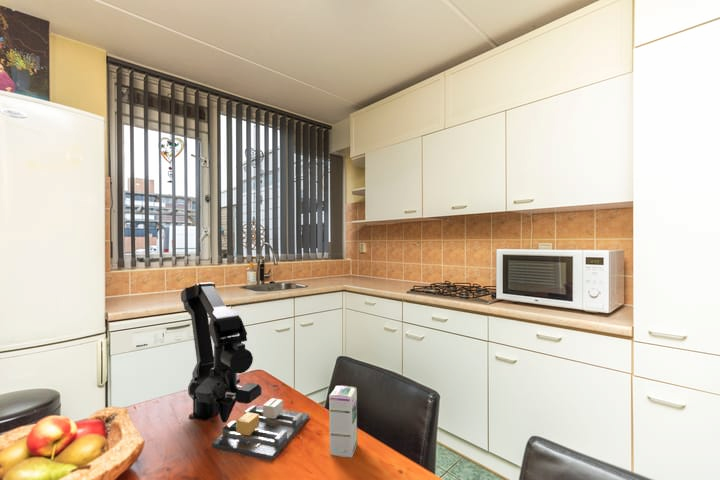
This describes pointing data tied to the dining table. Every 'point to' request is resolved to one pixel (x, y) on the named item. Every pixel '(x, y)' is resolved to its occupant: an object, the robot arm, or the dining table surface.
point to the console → (262, 434)
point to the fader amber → (247, 423)
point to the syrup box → (343, 421)
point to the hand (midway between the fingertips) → (224, 421)
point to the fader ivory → (272, 408)
